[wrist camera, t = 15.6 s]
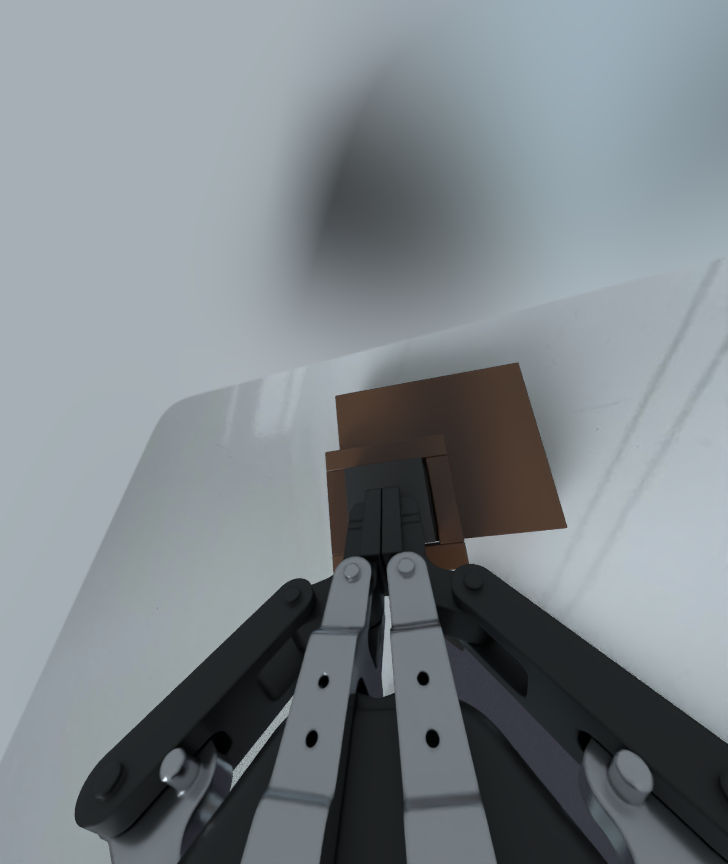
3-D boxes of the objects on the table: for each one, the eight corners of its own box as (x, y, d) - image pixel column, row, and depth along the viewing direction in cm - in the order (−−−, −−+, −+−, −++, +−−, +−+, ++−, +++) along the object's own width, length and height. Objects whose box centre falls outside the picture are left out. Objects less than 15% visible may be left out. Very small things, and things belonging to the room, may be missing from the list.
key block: (357, 564, 21) (333, 580, 16) (344, 416, 25) (320, 385, 19) (545, 546, 19) (594, 557, 14) (502, 389, 23) (527, 346, 17)
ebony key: (359, 547, 16) (350, 550, 14) (352, 473, 17) (343, 468, 16) (434, 539, 16) (435, 542, 14) (421, 464, 17) (421, 456, 15)
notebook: (348, 773, 18) (789, 1255, 11) (342, 796, 17) (844, 1364, 10) (459, 587, 20) (901, 913, 13) (461, 592, 18) (962, 964, 12)
